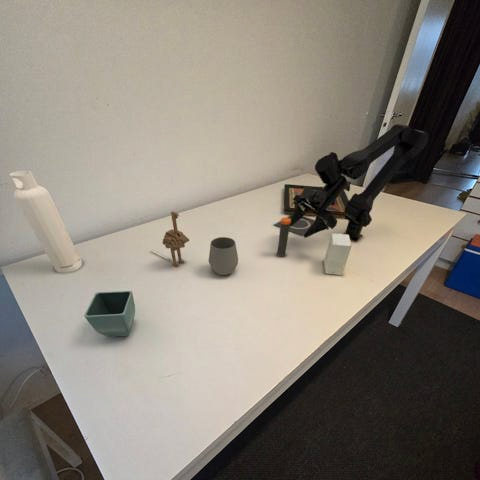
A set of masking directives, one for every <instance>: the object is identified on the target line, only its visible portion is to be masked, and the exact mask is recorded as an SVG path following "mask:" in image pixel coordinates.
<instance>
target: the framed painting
mask: <svg viewBox="0 0 480 480" xmlns="http://www.w3.org/2000/svg"><path fill="white" fill-rule="evenodd" d="M283 186H284V188H283V212H284V214H291V215H293V212H294V204H293V202H294V201H293V198H294V197H295V196H296V195H298V194H300V195H301V193H302V191H303V189H304V187H305V186H307V187H309V188H311V189H313V190H315V191H316V190H317V189H318V188H321V189H322V188H323V187H324V186H316V185H315V186H314V185H304V184H303V185H302V184H289V183H284V185H283ZM306 200H307V199H306ZM349 200H350V199H349V197H348V195H347V193H346V190H343V192H342V193H341V194H340V195H339V196H338V197H337V198H336V200H335V201H334V202H335V205H334V206H332V205H330V206H329V207H328V209H327V210H328V211H330V212H331V213H333V215H334V216H335V218H343V219H345V218H344V217H345V213H344V211H345V206H346V205H347V202H348V201H349ZM307 201H308V200H307ZM309 204H310V203H309ZM312 210H313V209H312ZM316 212H317V211H316ZM304 216H315V217H316V216H317V215H315V214H313V213H312V212H310V211H307V212H305V215H304Z"/></svg>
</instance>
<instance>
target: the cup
mask: <svg viewBox="0 0 480 480" xmlns="http://www.w3.org/2000/svg"><path fill="white" fill-rule="evenodd" d="M237 249H238V248H237V244H236V241H235V239H233V238H230V237H227V236H220V237H216V238H213V239H212V240H211V241H210V245H209V253H208V263H209V265H210V267H211V269H212V270H213V272H214V273H215V274H217V275H219V276H228V275H230V274H232V273H233V272H234V271H235V269H236V268H237V266H238V264H239V255H238V251H237Z"/></svg>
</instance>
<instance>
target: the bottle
mask: <svg viewBox="0 0 480 480" xmlns="http://www.w3.org/2000/svg"><path fill="white" fill-rule="evenodd" d="M9 176H10V178H11V179H12V181H13V183H14V185H15V187H16V189H15V190H14V193H13V198H14V200H15V202H16V204H17V205H18V207H19V209H20V210H21V212H22V214H23V216H24V218H25V219H26V221H27V222H28V224H29V226H30V228H31V230H32V231H33V233H34V235H35V237H36V238H37V240H38V242H39V244H40V245H41V247H42V249H43V250H44V252H45V254H46V256H47V258H48V259H49V261H50V263H51V264H52V266H53V268H54V270H55V271H56V272H57V273H59V274H60V273H61V274H68V273H72V272H75V271H77V270H78V269H80V268H81V267H82V266H83V261H82V260H81V257H80V255H79V253H78V251H77V249H76V247H75V244H74V243H73V240H72V238H71V236H70V234H69V232H68V230H67V227H66V226H65V224H64V221H63V220H62V217H61V215H60V213H59V210H58V209H57V207H56V205H55V203H54V200H53V198H52V196H51V194H50V192H49V191H48V189H47V188H45V187H44V186H42V185H39V184H38V183H37V180H36V179H35V177H34V174H33V173H32V171H31V170H25V169H24V170H16V171H13V172H11V173H9Z"/></svg>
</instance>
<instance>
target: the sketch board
mask: <svg viewBox="0 0 480 480" xmlns="http://www.w3.org/2000/svg"><path fill="white" fill-rule="evenodd" d="M292 215H293V214H291V215H289V216H287V217H286V218H290V219H291V217H292ZM314 222H315V219H312V218H309V217H306V216H303V217H302V218H301V219H299V220H298V221H297V222H296V223H295V224H293V225H292V226H291V227H290V228H289V233H293V234H296V235H299V236H301V237H302V236H303V237H304V234H305V233H306V232H307V230H308V229H309V228H310V227H311V226H312V224H313V223H314ZM273 225H274V226H275V227H277V228H280V227H281V220H280V221H278V222H277V223H275V224H273Z"/></svg>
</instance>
